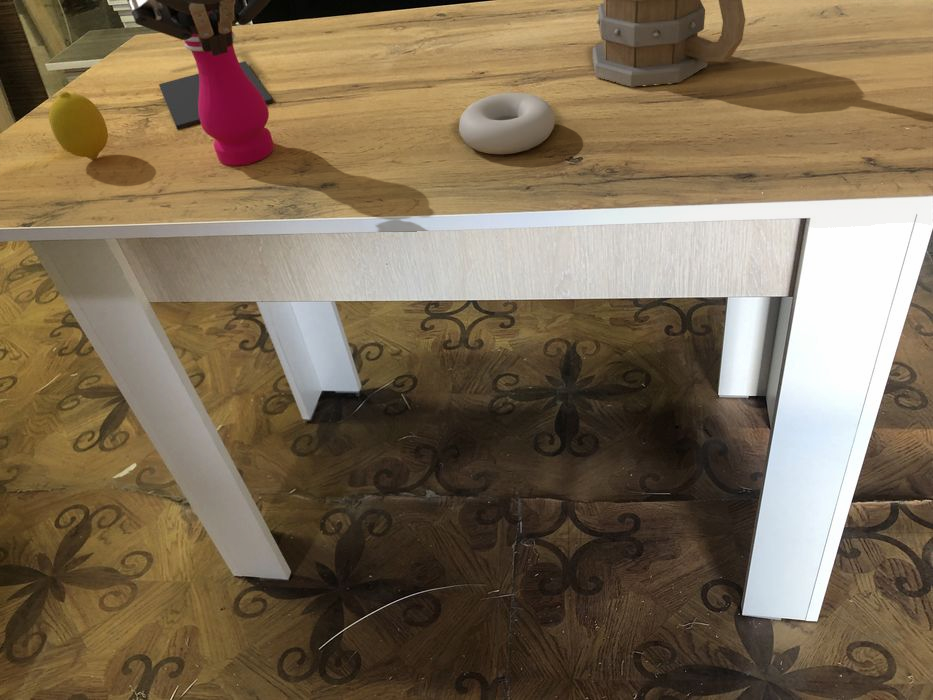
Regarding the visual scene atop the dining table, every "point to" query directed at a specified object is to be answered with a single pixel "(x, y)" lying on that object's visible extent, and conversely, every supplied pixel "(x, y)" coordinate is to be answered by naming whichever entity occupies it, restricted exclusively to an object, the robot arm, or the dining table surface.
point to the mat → (196, 96)
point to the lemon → (78, 125)
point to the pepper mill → (230, 107)
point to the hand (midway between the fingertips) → (216, 45)
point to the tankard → (661, 40)
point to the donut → (506, 123)
